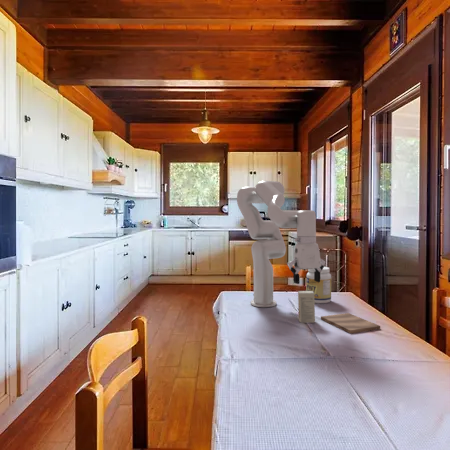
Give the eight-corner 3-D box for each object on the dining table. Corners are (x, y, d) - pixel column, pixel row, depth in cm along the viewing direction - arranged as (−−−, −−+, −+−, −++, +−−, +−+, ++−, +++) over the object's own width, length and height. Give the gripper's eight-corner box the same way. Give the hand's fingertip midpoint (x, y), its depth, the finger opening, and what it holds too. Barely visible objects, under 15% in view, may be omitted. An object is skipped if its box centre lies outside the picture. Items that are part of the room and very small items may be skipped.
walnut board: (320, 319, 140) (320, 316, 140) (348, 315, 145) (348, 313, 145) (350, 333, 123) (350, 330, 123) (380, 329, 128) (380, 325, 128)
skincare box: (313, 319, 140) (313, 290, 139) (315, 323, 135) (315, 293, 135) (297, 319, 140) (297, 290, 140) (299, 322, 136) (299, 292, 135)
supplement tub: (301, 299, 173) (301, 266, 172) (319, 296, 178) (319, 265, 178) (318, 305, 162) (318, 270, 161) (336, 301, 168) (336, 268, 167)
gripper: (292, 241, 130) (293, 285, 130) (330, 240, 136) (330, 282, 136) (283, 240, 137) (283, 282, 138) (319, 239, 143) (319, 279, 143)
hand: (307, 282), depth 137 cm, fingers open, 9 cm apart
